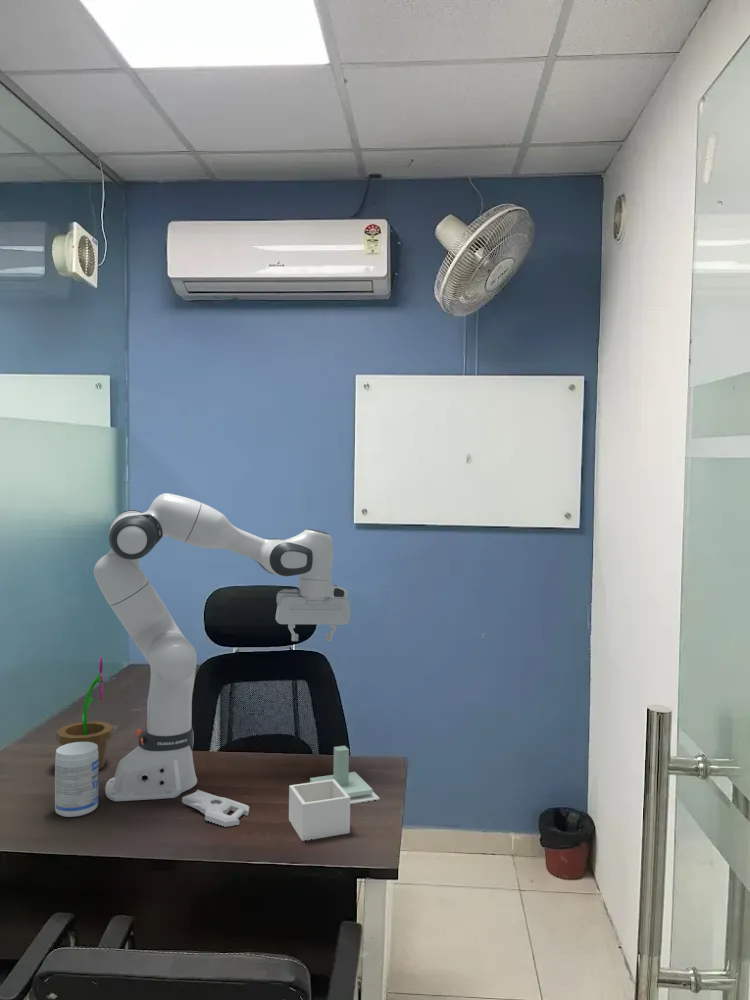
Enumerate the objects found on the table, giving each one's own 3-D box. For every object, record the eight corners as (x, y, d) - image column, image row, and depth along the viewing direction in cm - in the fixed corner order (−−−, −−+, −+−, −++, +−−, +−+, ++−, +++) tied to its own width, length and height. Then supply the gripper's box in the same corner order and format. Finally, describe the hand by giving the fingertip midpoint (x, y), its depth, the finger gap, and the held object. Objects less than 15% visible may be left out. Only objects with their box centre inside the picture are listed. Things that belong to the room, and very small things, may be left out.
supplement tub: (102, 812, 172) (103, 750, 172) (59, 822, 167) (59, 757, 167) (92, 798, 180) (93, 738, 180) (51, 806, 175) (51, 745, 175)
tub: (302, 841, 160) (302, 804, 160) (288, 819, 170) (289, 785, 170) (349, 833, 164) (350, 797, 164) (333, 812, 174) (334, 779, 174)
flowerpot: (113, 772, 196) (115, 660, 196) (55, 780, 191) (56, 665, 191) (111, 754, 210) (112, 649, 209) (56, 761, 204) (57, 653, 204)
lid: (325, 804, 178) (325, 759, 178) (309, 784, 189) (310, 743, 189) (372, 796, 182) (373, 753, 182) (354, 778, 194) (355, 737, 194)
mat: (321, 808, 176) (321, 807, 176) (304, 785, 190) (304, 783, 190) (379, 799, 182) (379, 798, 182) (358, 777, 196) (358, 776, 196)
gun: (171, 797, 173) (200, 783, 182) (170, 812, 173) (199, 797, 182) (232, 819, 165) (259, 803, 173) (231, 834, 165) (258, 817, 173)
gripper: (279, 589, 192) (276, 643, 192) (353, 591, 199) (350, 642, 199) (274, 587, 198) (271, 638, 198) (346, 589, 205) (343, 638, 205)
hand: (311, 640), depth 198 cm, fingers open, 8 cm apart
